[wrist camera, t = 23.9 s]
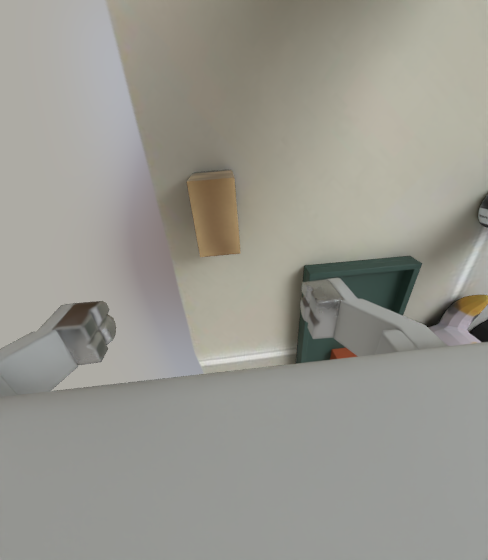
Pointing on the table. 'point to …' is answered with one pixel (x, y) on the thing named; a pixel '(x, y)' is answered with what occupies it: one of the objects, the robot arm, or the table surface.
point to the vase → (481, 332)
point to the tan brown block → (214, 212)
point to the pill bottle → (484, 212)
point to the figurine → (460, 320)
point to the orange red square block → (341, 353)
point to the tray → (359, 294)
